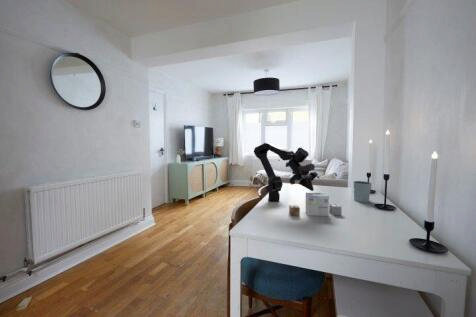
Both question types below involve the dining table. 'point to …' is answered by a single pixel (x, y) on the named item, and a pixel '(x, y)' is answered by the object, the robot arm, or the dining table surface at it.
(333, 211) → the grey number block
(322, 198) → the light bulb box
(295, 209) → the brown bevelled block
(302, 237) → the dining table surface
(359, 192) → the grey green container
